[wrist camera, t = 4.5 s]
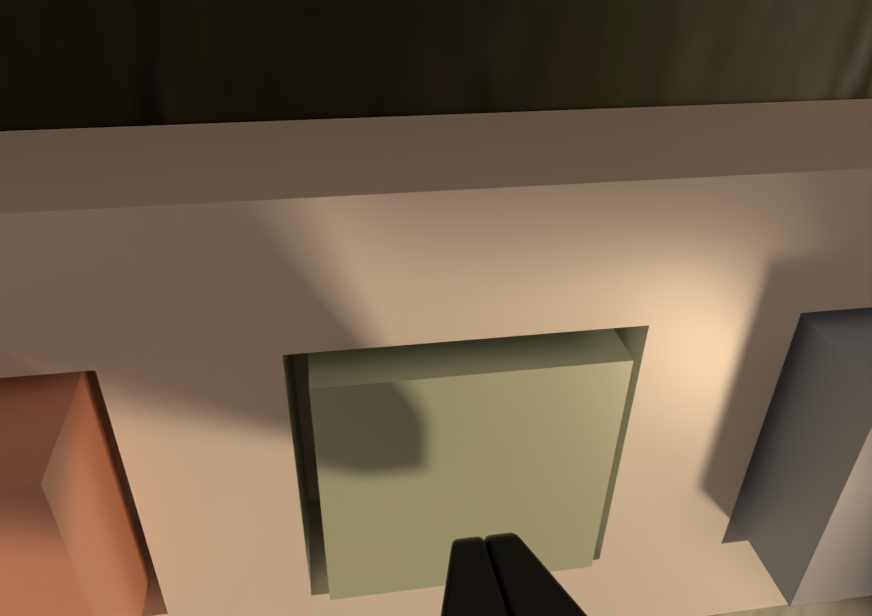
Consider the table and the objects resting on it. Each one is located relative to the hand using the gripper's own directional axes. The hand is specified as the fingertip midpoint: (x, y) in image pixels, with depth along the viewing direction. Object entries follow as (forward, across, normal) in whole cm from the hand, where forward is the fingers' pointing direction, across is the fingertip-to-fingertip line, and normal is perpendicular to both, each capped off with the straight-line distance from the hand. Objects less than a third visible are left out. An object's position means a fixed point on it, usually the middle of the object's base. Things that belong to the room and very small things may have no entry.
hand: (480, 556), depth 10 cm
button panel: (+4, 0, 0) cm, 4 cm away
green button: (+3, 0, 0) cm, 3 cm away
